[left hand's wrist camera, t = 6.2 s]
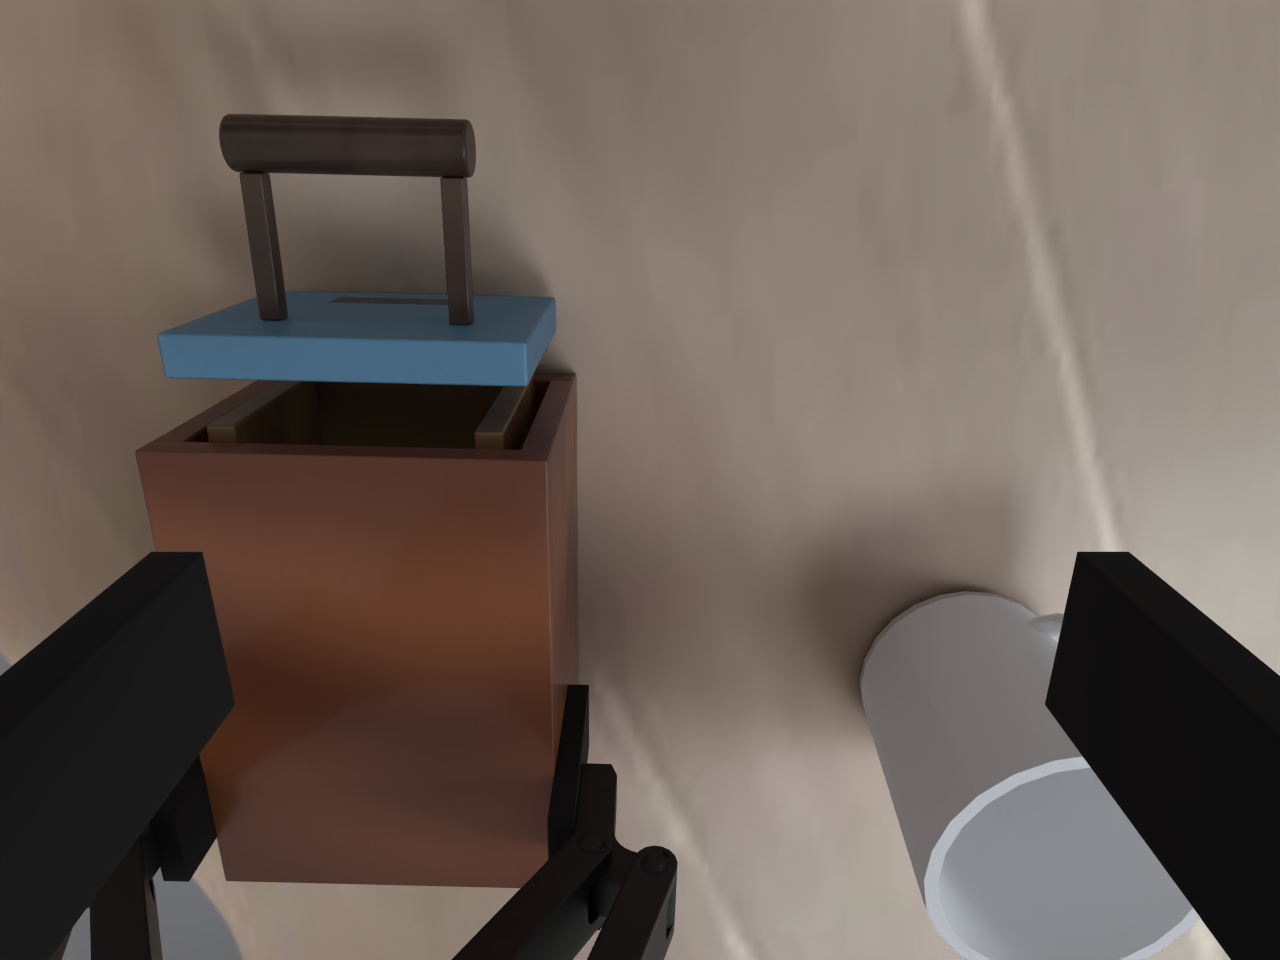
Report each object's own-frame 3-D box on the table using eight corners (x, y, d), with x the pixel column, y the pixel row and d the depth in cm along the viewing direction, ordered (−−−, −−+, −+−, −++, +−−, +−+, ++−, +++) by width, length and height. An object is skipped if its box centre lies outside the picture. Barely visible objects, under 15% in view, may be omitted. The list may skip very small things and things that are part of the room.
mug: (981, 789, 37) (1099, 1015, 27) (807, 711, 35) (866, 922, 26) (1145, 593, 33) (1349, 775, 23) (958, 498, 32) (1093, 650, 22)
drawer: (249, 119, 26) (111, 108, 20) (553, 126, 26) (520, 117, 20) (320, 639, 33) (237, 762, 26) (560, 644, 33) (538, 770, 26)
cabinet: (277, 366, 30) (133, 450, 22) (576, 373, 30) (548, 460, 22) (325, 708, 36) (225, 881, 27) (578, 714, 36) (556, 889, 27)
